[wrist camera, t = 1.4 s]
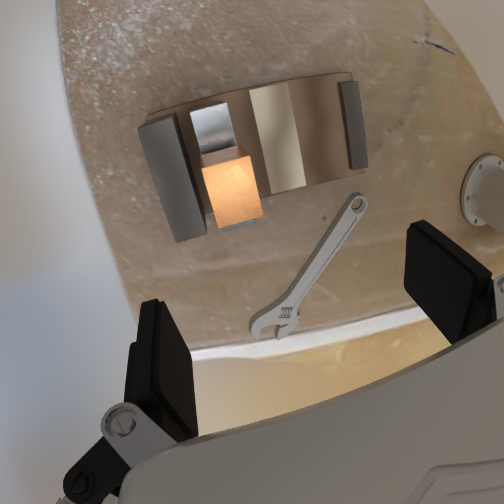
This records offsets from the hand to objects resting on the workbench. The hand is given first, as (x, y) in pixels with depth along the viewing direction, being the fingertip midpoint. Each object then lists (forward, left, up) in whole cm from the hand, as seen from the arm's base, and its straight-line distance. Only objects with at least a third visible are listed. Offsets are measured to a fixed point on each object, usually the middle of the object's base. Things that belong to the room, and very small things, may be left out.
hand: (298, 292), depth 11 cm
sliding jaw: (+1, 0, -23) cm, 24 cm away
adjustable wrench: (-7, +20, -27) cm, 34 cm away
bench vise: (-4, 0, -26) cm, 26 cm away
